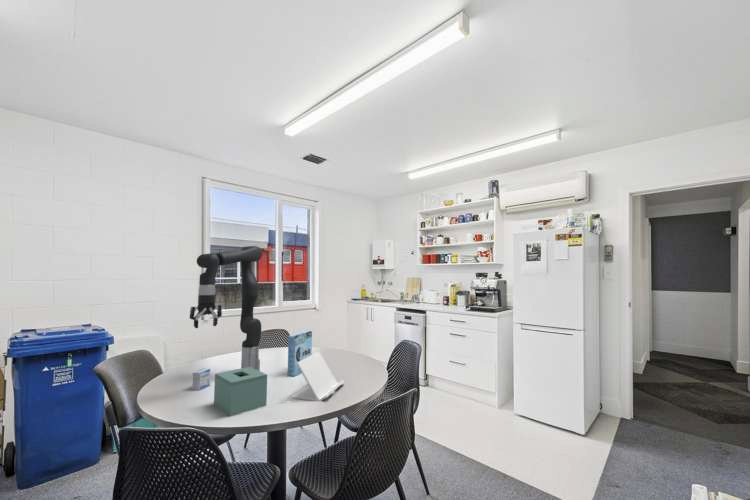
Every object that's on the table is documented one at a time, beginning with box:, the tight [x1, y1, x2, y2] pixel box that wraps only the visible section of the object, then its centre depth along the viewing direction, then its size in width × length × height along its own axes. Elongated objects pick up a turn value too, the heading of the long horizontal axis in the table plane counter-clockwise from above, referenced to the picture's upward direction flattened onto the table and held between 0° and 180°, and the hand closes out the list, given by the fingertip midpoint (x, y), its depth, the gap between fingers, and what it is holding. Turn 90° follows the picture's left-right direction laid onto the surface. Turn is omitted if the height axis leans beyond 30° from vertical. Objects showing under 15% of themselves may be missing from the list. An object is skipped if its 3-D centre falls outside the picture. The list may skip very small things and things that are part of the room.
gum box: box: [287, 330, 313, 377], centre depth 202 cm, size 20×5×23 cm, turn 160°
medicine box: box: [191, 368, 211, 391], centre depth 173 cm, size 8×4×9 cm, turn 168°
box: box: [213, 367, 268, 417], centre depth 150 cm, size 16×18×14 cm
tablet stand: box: [291, 351, 345, 402], centre depth 169 cm, size 18×25×17 cm
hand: (205, 327), depth 164 cm, fingers open, 8 cm apart
